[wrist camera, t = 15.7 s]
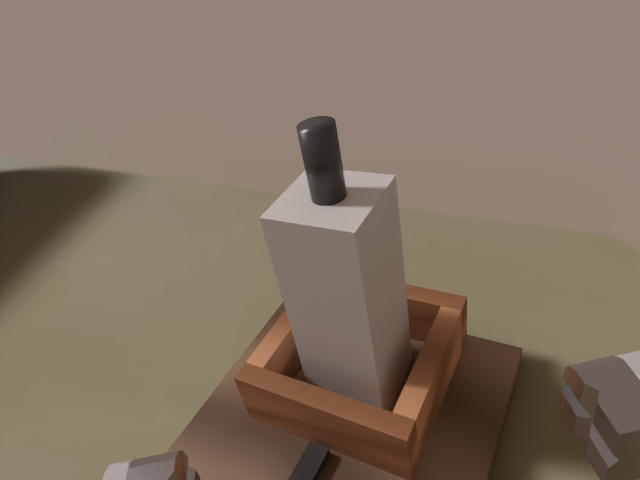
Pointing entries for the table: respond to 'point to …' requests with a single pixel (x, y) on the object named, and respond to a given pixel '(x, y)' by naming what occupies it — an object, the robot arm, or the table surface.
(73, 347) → the table surface
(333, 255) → the connector plug
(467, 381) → the board
